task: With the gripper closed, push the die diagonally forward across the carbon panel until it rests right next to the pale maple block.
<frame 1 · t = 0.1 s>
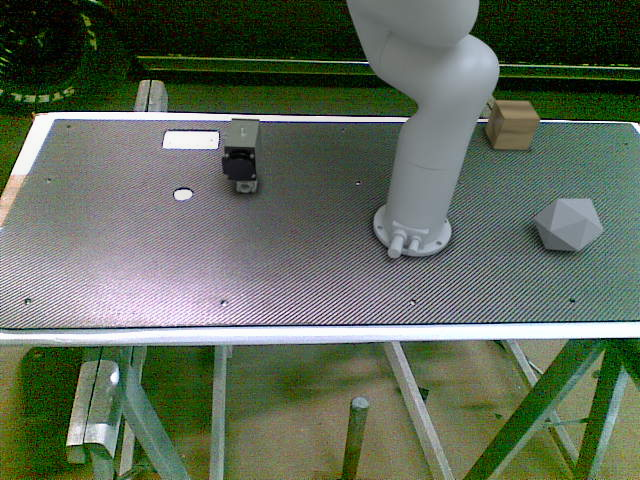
die: (557, 243, 77), on the table
maple block: (505, 139, 98), on the table
pneumatic valve: (244, 187, 84), on the table
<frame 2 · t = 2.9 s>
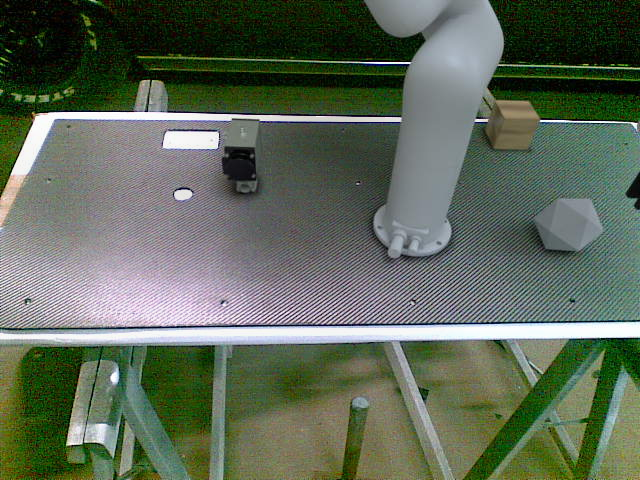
nothing on the table moved.
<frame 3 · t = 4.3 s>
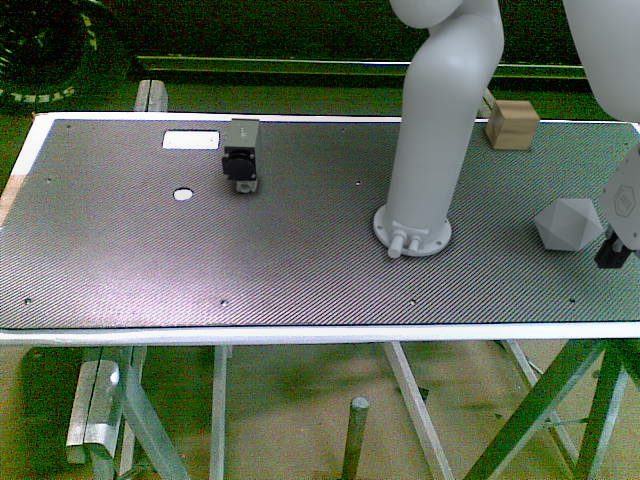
hand: (606, 264, 66), 6 cm above the table, tool pointing down, fingers closed
nothing on the table moved.
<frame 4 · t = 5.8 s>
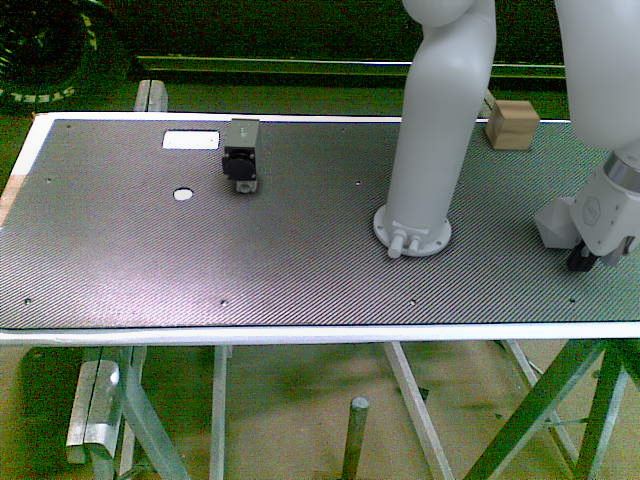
hand: (576, 267, 72), 1 cm above the table, tool pointing down, fingers closed
die: (556, 241, 78), on the table, touching gripper
everything else where it was.
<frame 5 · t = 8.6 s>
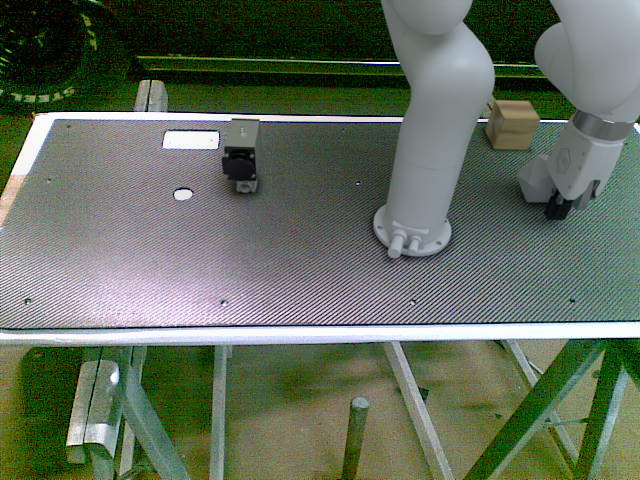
hand: (553, 216, 79), 1 cm above the table, tool pointing down, fingers closed
die: (537, 197, 85), on the table, touching gripper
everything else where it was.
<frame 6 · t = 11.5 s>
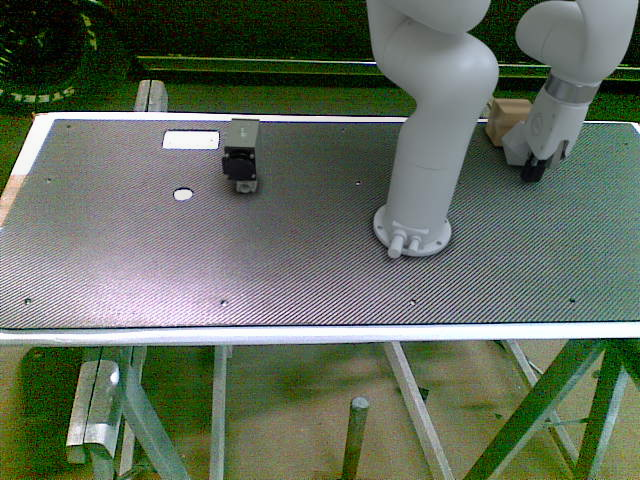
hand: (529, 179, 87), 1 cm above the table, tool pointing down, fingers closed
die: (519, 161, 93), on the table, touching gripper, maple block
maple block: (506, 138, 98), on the table, tilted 6°, touching die
everything else where it was.
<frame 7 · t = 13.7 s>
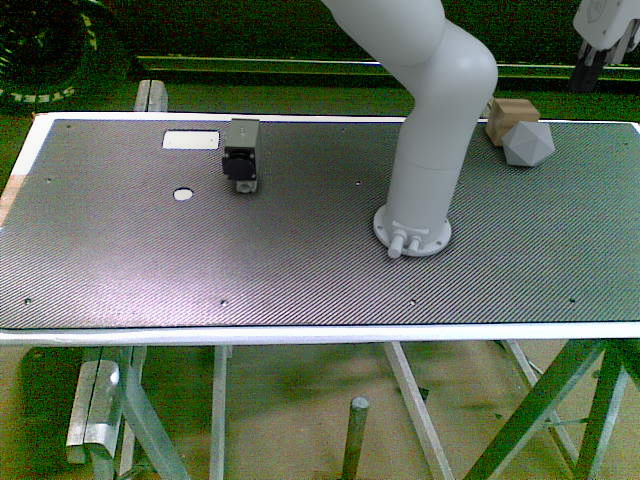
hand: (578, 88, 70), 21 cm above the table, tool pointing down, fingers closed
die: (519, 160, 93), on the table, touching maple block
everything else where it was.
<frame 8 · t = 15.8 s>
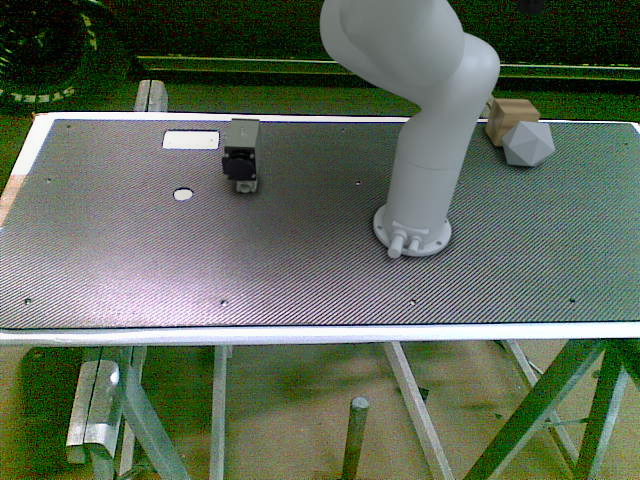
hand: (527, 11, 69), 29 cm above the table, tool pointing down, fingers closed
nothing on the table moved.
at the end: die 7.4 cm from the maple block (horizontally); die tilted 7°; maple block moved 0.3 cm from its start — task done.
